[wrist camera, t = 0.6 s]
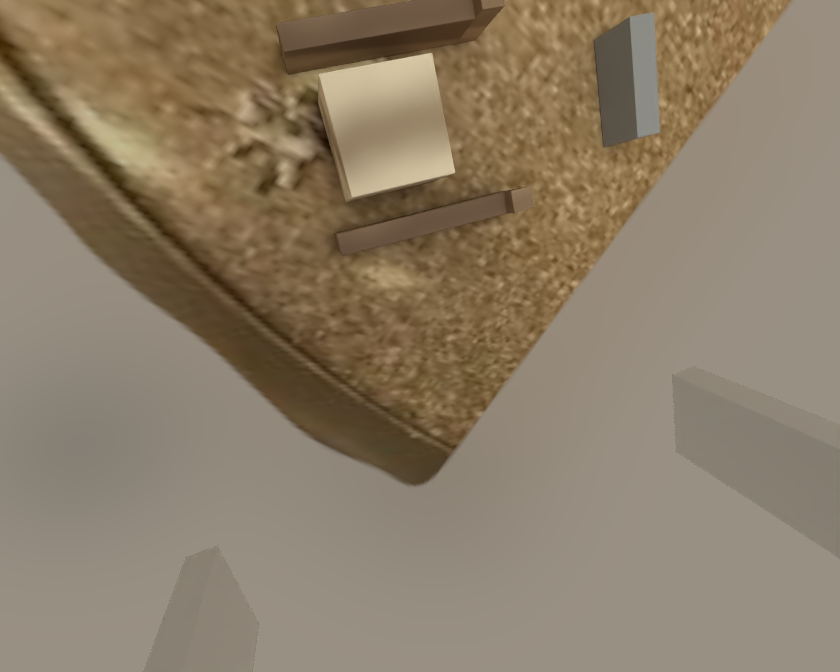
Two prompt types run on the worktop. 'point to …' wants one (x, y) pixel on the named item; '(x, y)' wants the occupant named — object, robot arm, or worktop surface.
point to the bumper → (628, 80)
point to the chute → (384, 36)
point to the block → (385, 126)
